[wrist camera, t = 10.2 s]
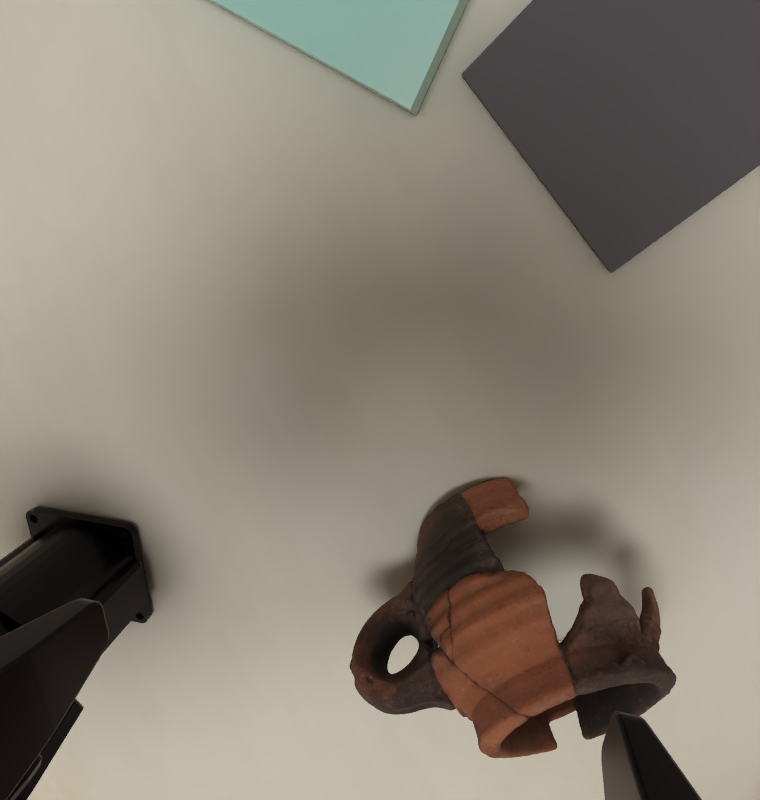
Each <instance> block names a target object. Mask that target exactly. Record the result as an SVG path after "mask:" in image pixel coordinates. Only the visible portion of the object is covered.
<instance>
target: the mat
mask: <svg viewBox="0 0 760 800" xmlns="http://www.w3.org/2000/svg"><path fill="white" fill-rule="evenodd" d="M462 77H463V78H464V80H465V81H466V82H467V83H468V85H469V86H470V87H471V89H472V90H473V91H474V93H475V94H476V95H477V97H478V98H479V99H480V101H481V102H482V103H483V105H484V106H485V107H486V109H487V110H488V111H489V113H490V114H491V115H492V117H493V118H494V119H495V121H496V122H497V123H498V125H499V126H500V127H501V128H502V130H503V131H504V132H505V134H506V135H507V136H508V138H509V139H510V140H511V142H512V143H513V144H514V146H515V147H516V148H517V150H518V151H519V152H520V154H521V155H522V156H523V158H524V159H525V160H526V162H527V163H528V164H529V166H530V167H531V168H532V170H533V171H534V172H535V173H536V175H537V176H538V177H539V179H540V180H541V181H542V183H543V184H544V185H545V187H546V188H547V189H548V191H549V192H550V193H551V195H552V196H553V197H554V199H555V200H556V201H557V203H558V204H559V205H560V207H561V208H562V209H563V211H564V212H565V213H566V215H567V216H568V217H569V218H570V220H571V221H572V222H573V224H574V225H575V226H576V228H577V229H578V230H579V232H580V233H581V234H582V236H583V237H584V238H585V240H586V241H587V242H588V244H589V245H590V246H591V248H592V249H593V250H594V252H595V253H596V254H597V256H598V257H599V258H600V259H601V261H602V262H603V263H604V265H605V266H606V267H607V269H608V270H609V271H610V272H611V273H612V272H614V271H615V270H617V269H618V268H619V267H621V266H622V265H623V264H625V263H626V262H628V261H629V260H630V259H632V258H633V257H634V256H636V255H637V254H639V253H640V252H641V251H643V250H644V249H645V248H647V247H648V246H649V245H651V244H652V243H654V242H655V241H656V240H658V239H659V238H660V237H662V236H663V235H665V234H666V233H667V232H669V231H670V230H671V229H673V228H674V227H676V226H677V225H678V224H680V223H681V222H682V221H684V220H685V219H686V218H688V217H689V216H691V215H692V214H693V213H695V212H696V211H697V210H699V209H700V208H702V207H703V206H704V205H706V204H707V203H708V202H710V201H711V200H713V199H714V198H715V197H717V196H718V195H719V194H721V193H722V192H723V191H725V190H726V189H728V188H729V187H730V186H732V185H733V184H734V183H736V182H737V181H739V180H740V179H741V178H743V177H744V176H745V175H747V174H748V173H750V172H751V171H752V170H754V169H755V168H756V167H758V166H759V165H760V0H533V1H532V2H531V3H530V4H529V5H528V6H527V7H526V8H525V9H524V10H523V11H522V12H521V13H520V14H519V15H518V16H517V17H516V18H515V19H514V20H513V21H512V22H511V24H510V25H509V26H508V27H507V28H506V29H505V30H504V31H503V32H502V33H501V34H500V35H499V36H498V37H497V38H496V39H495V40H494V41H493V42H492V43H491V44H490V45H489V46H488V47H487V48H486V49H485V50H484V51H483V53H482V54H481V55H480V56H479V57H478V58H477V59H476V60H475V61H474V62H473V63H472V64H471V65H470V66H469V67H468V68H467V69H466V70H465V71H464V72H463V73H462Z"/></svg>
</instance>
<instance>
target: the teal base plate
mask: <svg viewBox="0 0 760 800" xmlns="http://www.w3.org/2000/svg"><path fill="white" fill-rule="evenodd" d="M208 1H210V2H212V3H214V4H216V5H217V6H219V7H221V8H223V9H225V10H226V11H228V12H230V13H232V14H234V15H236V16H237V17H239V18H241V19H243V20H245V21H246V22H248V23H250V24H252V25H254V26H255V27H257V28H259V29H261V30H263V31H264V32H266V33H268V34H270V35H272V36H273V37H275V38H277V39H279V40H281V41H282V42H284V43H286V44H288V45H290V46H291V47H293V48H295V49H297V50H299V51H300V52H302V53H304V54H306V55H308V56H309V57H311V58H313V59H315V60H317V61H319V62H320V63H322V64H324V65H326V66H328V67H329V68H331V69H333V70H335V71H337V72H338V73H340V74H342V75H344V76H346V77H347V78H349V79H351V80H353V81H355V82H356V83H358V84H360V85H362V86H364V87H365V88H367V89H369V90H371V91H373V92H374V93H376V94H378V95H380V96H382V97H383V98H385V99H387V100H389V101H391V102H393V103H394V104H396V105H398V106H400V107H402V108H403V109H405V110H407V111H409V112H411V113H412V114H414V115H417V112H418V110H419V108H420V106H421V104H422V101H423V99H424V97H425V95H426V93H427V90H428V88H429V86H430V84H431V82H432V79H433V77H434V75H435V73H436V71H437V69H438V66H439V64H440V62H441V60H442V58H443V55H444V53H445V51H446V49H447V47H448V44H449V42H450V40H451V38H452V36H453V33H454V31H455V29H456V27H457V25H458V23H459V20H460V18H461V16H462V14H463V12H464V9H465V7H466V5H467V3H468V1H469V0H208Z"/></svg>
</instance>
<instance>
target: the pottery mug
mask: <svg viewBox="0 0 760 800" xmlns="http://www.w3.org/2000/svg"><path fill="white" fill-rule="evenodd" d="M528 515H529V509H528V506H527V504H526V502H525V501H524V499H523V498H522V497H520V496H519V494H518V492H517V490H516V488H515V487H514V485H513V484H512V482H511V480H510V479H508V478H500V479H494V480H489V481H486V482H484V483H481V484H477V485H475V486H473V487H471V488H469V489H467V490H465V491H463V492H462V493H460V494H457V495H455V496H453V497H452V498H450V499H449V500H447V501H446V502H445V503H443V504H441V505H439V506H438V507H437V508H436V509H435V511H434V512H433V513H432V514H431V515H429V516H428V517H427V519H426V520H425V521H424V523H423V525H422V527H421V530H420V533H419V536H418V542H417V554H416V560H415V566H414V575H413V578H412V581H410V582H409V583H408V584H407V586H406V587H405V589H404V590H403V591H402V592H401V593H400V594H398V595H397V596H396V597H394V598H392V599H391V600H389V601H388V602H386V603H385V604H384V605H382V606H381V607H380V608H379V609H378V610H377V611H376V612H374V613H373V615H372V616H371V617H370V618H369V619H368V620H367V622H366V623H365V625H364V626H363V628H362V629H361V631H360V633H359V635H358V637H357V640H356V643H355V646H354V649H353V654H352V660H351V663H350V669H351V671H352V673H353V675H354V678H355V687H356V689H357V691H358V692H359V694H360V695H361V696H362V697H363V698H364V699H365V700H366V701H367V702H368V703H369V704H371V705H372V706H374V707H375V708H376V709H378V710H380V711H382V712H384V713H388V714H407V713H412V712H416V711H419V710H423V709H427V708H432V707H439V708H444V709H448V710H454V709H457V710H458V711H459V713H460V714H461V715H462V716H463V717H468V719H469V720H471V721H473V724H474V727H475V730H476V733H477V737H478V745H479V748H480V750H481V751H482V753H484V754H486V755H487V756H489V757H492V758H513V757H521V756H528V755H532V754H538V753H543V752H548V751H552V750H555V749H556V748H557V743H556V741H555V739H554V737H553V734H552V731H551V729H550V726H549V723H550V721H553V720H555V719H558V718H561V717H563V716H565V715H567V714H569V713H571V712H573V711H575V710H576V711H577V714H578V718H579V724H580V727H581V730H582V735H583V737H584V738H585V739H592V738H595V737H597V736H600V735H603V734H605V733H606V732H607V728H608V725H609V722H610V718H611V716H612V714H613V713H614V712H616V711H619V712H624V713H629V714H633V715H638V716H640V715H641V714H643V713H645V712H646V711H647V710H648V709H650V708H651V707H652V706H653V705H655V704H656V703H657V702H658V701H660V700H661V699H662V698H664V697H665V696H666V695H667V694H669V693H670V690H671V689H672V688H673V686H674V685H675V682H676V675H675V674H674V673H673V671H672V670H671V668H670V667H668V666H667V665H666V663H665V661H664V660H663V658H662V657H661V655H660V654H659V639H660V635H661V629H660V616H659V608H658V604H657V602H656V598H655V596H654V592H653V590H652V589H651V588H649V587H646V588H644V589H643V590H642V612H641V615H640V619H639V618H638V616H637V615H636V613H635V610H634V608H633V607H632V606H631V605H630V604H629V603H628V602H627V601H626V600H625V599H624V598H623V597H622V596H621V595H620V594H619V591H618V589H617V586H616V585H615V584H614V582H612V581H611V580H609V579H607V578H604V577H601V576H597V575H594V574H585V575H583V576H582V577H581V580H580V587H581V592H582V596H583V599H584V600H583V602H582V604H581V605H580V607H579V612H578V615H577V617H576V619H575V622H574V624H573V626H572V628H571V629H570V631H569V632H568V633H567V635H566V637H565V638H564V640H563V641H562V642H561V643H559V642H558V640H557V635H556V632H555V629H554V627H553V624H552V620H551V616H550V612H549V609H548V605H547V600H546V595H545V592H544V590H543V588H542V587H541V586H539V585H538V584H537V582H536V581H535V580H534V579H533V578H532V577H531V576H529V575H527V574H526V573H524V572H519V571H512V570H510V571H505V570H504V569H503V566H502V564H501V562H500V560H499V559H498V558H497V557H496V556H495V554H494V553H493V551H492V550H491V548H490V547H489V545H488V543H487V541H486V536H485V535H486V534H488V533H490V532H492V531H494V530H495V529H497V528H499V527H503V526H505V525H507V524H511V523H513V522H517V521H520V520H525V519H526V518H527V517H528ZM409 635H412V636H414V637H415V638H416V639H417V640H418V642H419V649H418V651H417V653H416V655H415V656H414V658H413V659H412V661H411V662H410V663H409V664H408V665H407V666H406V667H405V668H404V669H402V670H401V671H399V672H398V673H395V674H390V673H389V672H388V669H387V664H388V660H389V656H390V653H391V651H392V650H393V648H394V647H395V645H396V644H397V643H398V641H399V640H400V639H401V638H403V637H404V636H409ZM438 646H439V647H438Z"/></svg>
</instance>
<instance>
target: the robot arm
mask: <svg viewBox="0 0 760 800" xmlns="http://www.w3.org/2000/svg"><path fill="white" fill-rule="evenodd" d="M26 519H27V523H28V526H29V530H30V534H31V537H32V538H30V539H29V540H27V541H26V542H25V543H23V544H22V545H21V546H19V547H18V548H16V549H15V550H14V551H12V552H11V553H9V554H8V555H7V556H5V557H4V558H3V559H1V560H0V800H27V798H28V797H29V795H30V794H31V792H32V791H33V789H34V788H35V786H36V784H37V783H38V781H39V780H40V778H41V776H42V775H43V773H44V771H45V770H46V768H47V767H48V765H49V763H50V762H51V760H52V759H53V757H54V755H55V754H56V752H57V750H58V749H59V747H60V746H61V744H62V742H63V741H64V739H65V737H66V736H67V734H68V733H69V731H70V729H71V728H72V726H73V724H74V723H75V721H76V720H77V718H78V716H79V715H80V713H81V712H82V710H83V706H82V705H81V704H80V703H79V702H78V701H77V699H75V698H76V696H77V695H78V693H79V691H80V690H81V688H82V686H83V685H84V683H85V681H86V680H87V678H88V676H89V675H90V673H91V671H92V670H93V668H94V666H95V665H96V663H97V661H98V660H99V658H100V656H101V655H102V653H103V652H104V651H105V650H106V649H107V647H108V646H109V645H110V644H111V643H112V642H113V641H114V639H115V638H116V637H117V636H118V635H119V634H120V633H121V631H122V630H123V629H124V628H125V627H126V626H127V625H128V623H129V622H130V621H135V622H139V623H145V622H146V621H147V620H148V619H149V618H150V616H151V615H152V611H151V605H150V600H149V594H148V589H147V583H146V578H145V573H144V567H143V562H142V556H141V551H140V545H139V540H138V534H137V530H136V528H135V527H134V526H133V525H131V524H130V523H126V522H121V521H115V520H109V519H103V518H98V517H92V516H86V515H80V514H75V513H69V512H63V511H57V510H52V509H46V508H40V507H35V508H33V509H31V510H30V511H28V512H27V513H26ZM602 771H603V782H604V793H605V800H702V799H701V798H700V796H699V795H698V794H697V792H696V791H695V789H694V788H693V787H692V785H691V784H690V782H689V781H688V780H687V778H686V777H685V775H684V774H683V772H682V771H681V770H680V768H679V767H678V765H677V764H676V763H675V761H674V760H673V758H672V757H671V756H670V754H669V753H668V751H667V750H666V749H665V747H664V746H663V744H662V743H661V741H660V740H659V739H658V737H657V736H656V734H655V733H654V732H653V730H652V729H651V727H650V726H649V725H648V723H647V722H646V721H645V720H644V719H643V718H642V717H640V716H638V715H633V714H629V713H624V712H619V711H616V712H614V713H613V714H612V716H611V718H610V722H609V725H608V728H607V732H606V735H605V739H604V742H603V746H602Z"/></svg>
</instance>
